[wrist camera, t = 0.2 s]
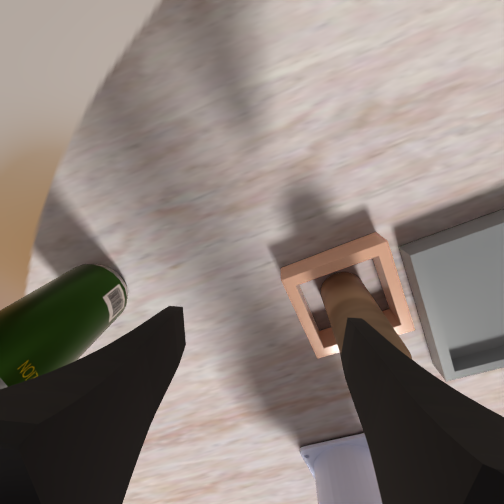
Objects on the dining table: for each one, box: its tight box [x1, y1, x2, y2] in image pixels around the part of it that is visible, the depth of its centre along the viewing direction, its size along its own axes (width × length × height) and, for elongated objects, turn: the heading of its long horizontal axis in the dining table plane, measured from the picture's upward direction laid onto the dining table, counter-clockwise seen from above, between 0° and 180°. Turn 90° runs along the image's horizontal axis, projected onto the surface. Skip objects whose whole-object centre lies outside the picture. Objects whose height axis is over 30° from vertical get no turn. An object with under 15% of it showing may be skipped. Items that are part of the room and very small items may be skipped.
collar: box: [281, 232, 415, 359], centre depth 20 cm, size 8×8×2 cm
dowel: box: [321, 272, 412, 359], centre depth 18 cm, size 3×3×8 cm
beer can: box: [0, 264, 128, 389], centre depth 18 cm, size 5×5×12 cm
